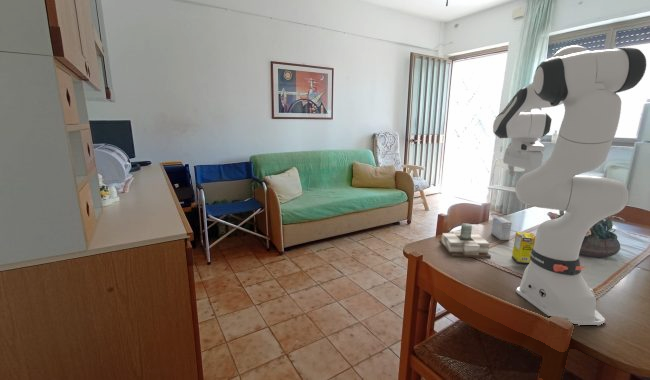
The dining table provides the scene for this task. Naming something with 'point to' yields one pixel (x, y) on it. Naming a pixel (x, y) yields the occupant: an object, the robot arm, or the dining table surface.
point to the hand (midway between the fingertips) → (517, 177)
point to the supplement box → (523, 247)
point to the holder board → (465, 245)
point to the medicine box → (501, 228)
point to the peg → (465, 232)
